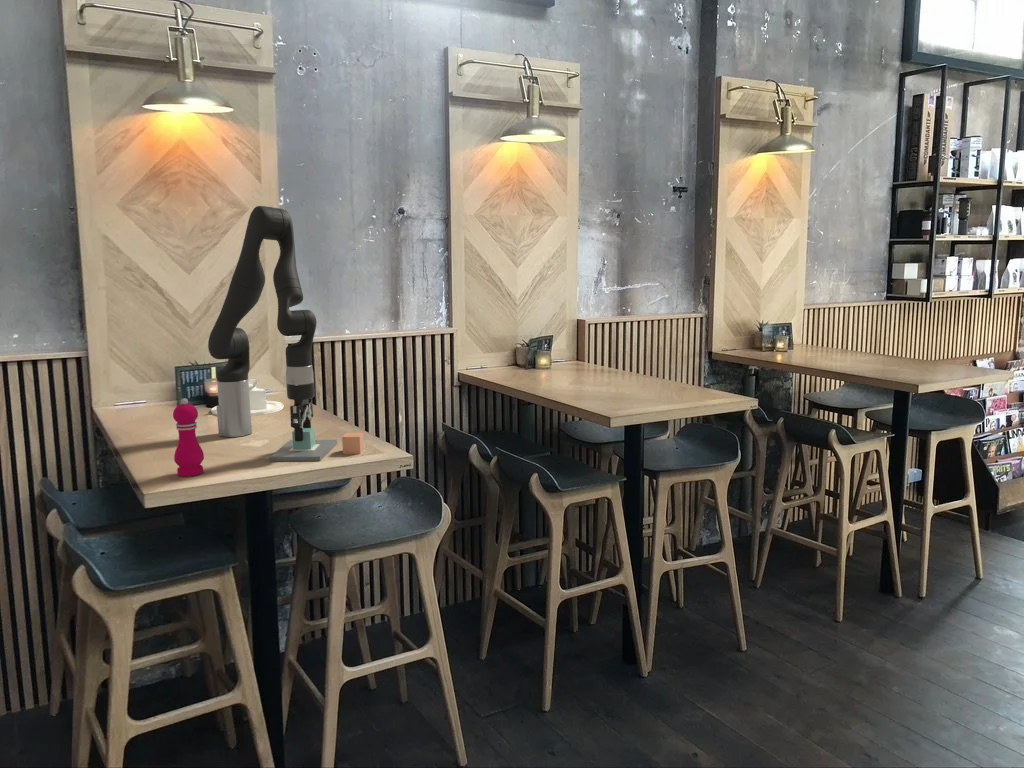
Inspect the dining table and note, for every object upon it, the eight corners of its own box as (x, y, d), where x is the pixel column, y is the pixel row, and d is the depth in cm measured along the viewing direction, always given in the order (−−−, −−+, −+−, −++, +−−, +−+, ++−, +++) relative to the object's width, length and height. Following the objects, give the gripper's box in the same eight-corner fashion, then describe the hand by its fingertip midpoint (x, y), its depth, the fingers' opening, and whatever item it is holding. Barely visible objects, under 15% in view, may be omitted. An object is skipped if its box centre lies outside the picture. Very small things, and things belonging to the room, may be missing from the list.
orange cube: (342, 454, 239) (342, 436, 238) (346, 449, 244) (345, 432, 243) (360, 454, 239) (359, 436, 238) (364, 449, 244) (363, 432, 243)
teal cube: (293, 449, 239) (292, 432, 238) (298, 445, 244) (297, 428, 243) (310, 449, 239) (309, 431, 238) (315, 445, 244) (314, 428, 243)
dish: (263, 401, 323) (261, 372, 321) (295, 410, 305) (293, 379, 303) (200, 410, 307) (197, 380, 305) (230, 420, 289) (227, 388, 287)
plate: (269, 461, 232) (269, 456, 232) (290, 444, 252) (290, 439, 251) (320, 460, 231) (320, 455, 231) (337, 443, 251) (336, 438, 251)
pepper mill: (180, 470, 224) (174, 396, 220) (208, 469, 224) (202, 395, 221) (171, 478, 217) (165, 401, 213) (200, 477, 217) (194, 400, 214)
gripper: (294, 377, 245) (297, 432, 248) (279, 385, 231) (282, 443, 234) (319, 377, 245) (322, 431, 248) (306, 385, 231) (309, 443, 234)
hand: (303, 437), depth 241 cm, fingers open, 8 cm apart
